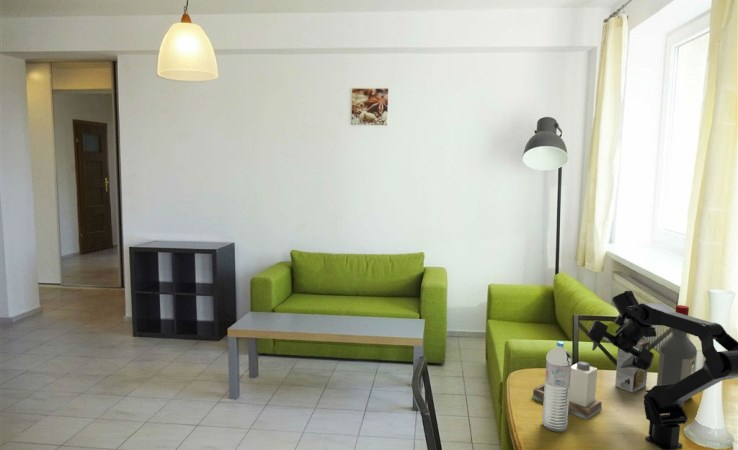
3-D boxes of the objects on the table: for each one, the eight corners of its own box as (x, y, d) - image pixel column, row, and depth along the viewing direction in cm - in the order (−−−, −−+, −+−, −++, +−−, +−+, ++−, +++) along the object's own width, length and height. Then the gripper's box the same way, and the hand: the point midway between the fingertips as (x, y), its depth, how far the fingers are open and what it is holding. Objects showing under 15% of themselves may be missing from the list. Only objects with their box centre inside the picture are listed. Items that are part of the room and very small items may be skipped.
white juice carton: (594, 405, 157) (597, 364, 156) (585, 411, 153) (588, 369, 152) (575, 398, 162) (578, 358, 160) (566, 404, 158) (569, 363, 156)
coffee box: (628, 379, 180) (631, 335, 178) (646, 386, 175) (650, 341, 173) (614, 386, 175) (617, 340, 173) (632, 393, 170) (637, 346, 168)
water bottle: (547, 418, 152) (552, 336, 149) (570, 426, 147) (576, 342, 144) (538, 427, 146) (543, 342, 143) (562, 435, 142) (568, 348, 139)
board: (601, 409, 158) (602, 400, 157) (586, 419, 151) (587, 410, 151) (547, 389, 171) (548, 380, 171) (532, 398, 164) (532, 389, 164)
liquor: (653, 394, 169) (662, 306, 165) (663, 386, 175) (671, 301, 172) (684, 404, 162) (694, 312, 159) (693, 395, 169) (703, 307, 165)
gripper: (669, 331, 152) (641, 357, 163) (610, 297, 158) (586, 324, 169) (662, 357, 145) (632, 382, 156) (600, 320, 151) (576, 347, 162)
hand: (606, 358), depth 161 cm, fingers open, 9 cm apart
